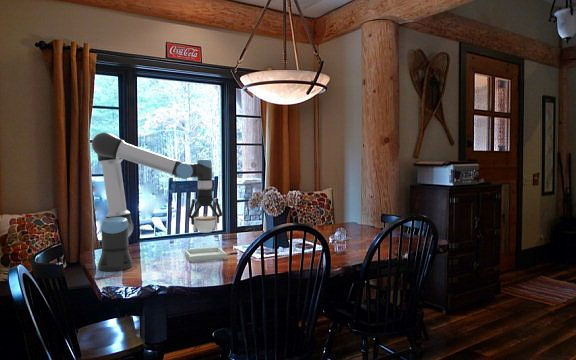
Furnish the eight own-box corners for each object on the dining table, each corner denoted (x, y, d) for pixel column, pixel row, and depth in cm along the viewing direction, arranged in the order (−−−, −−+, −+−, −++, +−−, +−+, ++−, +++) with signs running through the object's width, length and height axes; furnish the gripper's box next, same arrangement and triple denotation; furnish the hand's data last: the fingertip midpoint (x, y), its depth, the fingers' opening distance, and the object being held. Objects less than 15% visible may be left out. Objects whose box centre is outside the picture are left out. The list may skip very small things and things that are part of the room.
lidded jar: (218, 230, 222) (217, 213, 222) (212, 233, 211) (212, 215, 211) (198, 230, 223) (198, 212, 223) (192, 233, 213) (192, 215, 212)
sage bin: (190, 262, 206) (190, 256, 206) (184, 254, 223) (184, 249, 223) (226, 259, 213) (226, 253, 213) (218, 252, 230) (218, 246, 230)
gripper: (224, 187, 224) (225, 227, 225) (181, 188, 215) (182, 230, 216) (228, 188, 217) (228, 229, 218) (183, 189, 209) (184, 232, 209)
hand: (205, 230), depth 217 cm, fingers closed on lidded jar, 11 cm apart
